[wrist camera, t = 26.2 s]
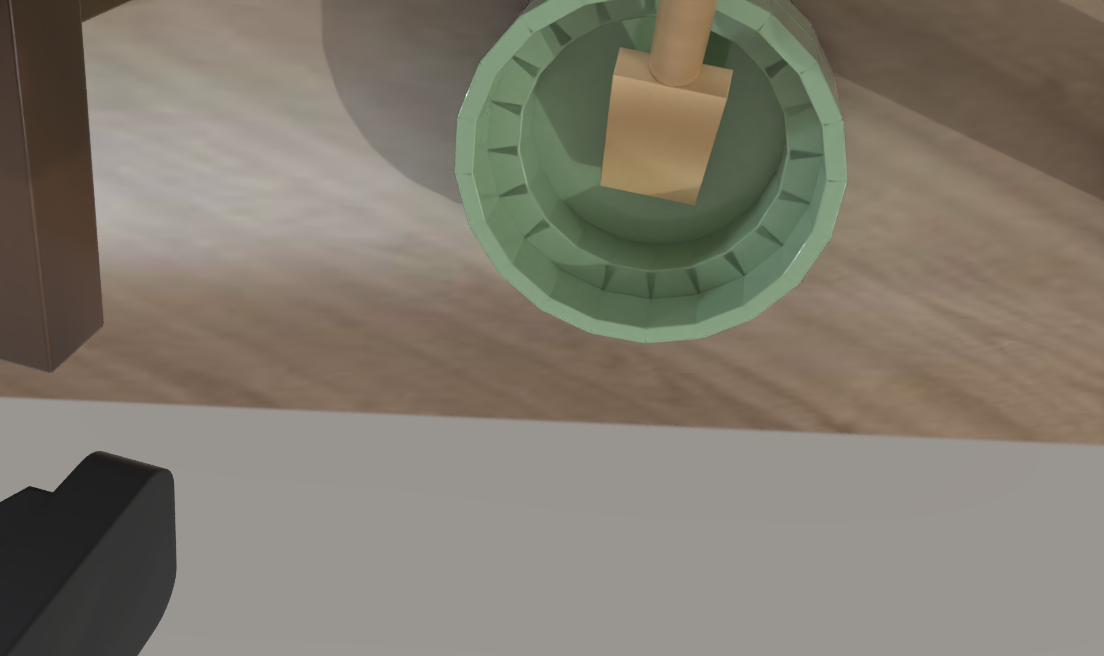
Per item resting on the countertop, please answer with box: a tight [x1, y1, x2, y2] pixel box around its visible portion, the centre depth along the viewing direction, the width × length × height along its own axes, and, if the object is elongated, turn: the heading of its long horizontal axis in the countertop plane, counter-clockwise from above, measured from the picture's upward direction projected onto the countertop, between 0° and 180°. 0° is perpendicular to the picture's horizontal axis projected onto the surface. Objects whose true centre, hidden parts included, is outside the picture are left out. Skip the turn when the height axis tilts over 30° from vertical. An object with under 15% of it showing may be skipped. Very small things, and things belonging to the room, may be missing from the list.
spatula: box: [600, 0, 733, 205], centre depth 35 cm, size 22×4×2 cm
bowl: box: [454, 0, 848, 343], centre depth 42 cm, size 16×16×6 cm
